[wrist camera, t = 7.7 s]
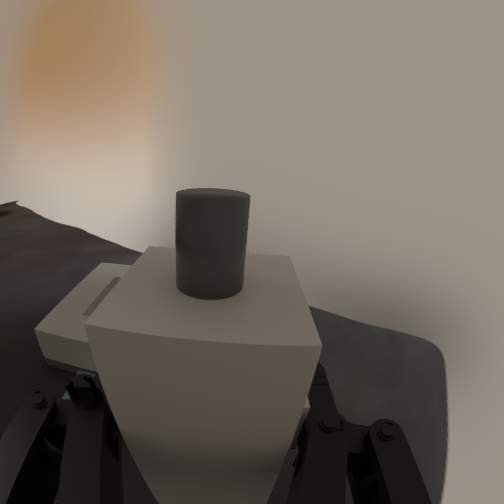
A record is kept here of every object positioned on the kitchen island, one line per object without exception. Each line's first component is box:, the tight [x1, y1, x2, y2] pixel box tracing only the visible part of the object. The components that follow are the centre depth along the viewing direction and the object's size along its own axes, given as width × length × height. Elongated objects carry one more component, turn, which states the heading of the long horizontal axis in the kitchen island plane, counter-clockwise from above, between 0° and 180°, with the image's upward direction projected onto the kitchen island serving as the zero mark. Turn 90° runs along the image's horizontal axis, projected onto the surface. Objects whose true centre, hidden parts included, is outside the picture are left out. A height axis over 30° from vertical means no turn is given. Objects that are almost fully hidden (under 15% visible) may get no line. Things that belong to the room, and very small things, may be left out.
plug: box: [84, 188, 322, 504], centre depth 9 cm, size 5×5×14 cm
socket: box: [34, 263, 131, 399], centre depth 21 cm, size 17×13×4 cm
